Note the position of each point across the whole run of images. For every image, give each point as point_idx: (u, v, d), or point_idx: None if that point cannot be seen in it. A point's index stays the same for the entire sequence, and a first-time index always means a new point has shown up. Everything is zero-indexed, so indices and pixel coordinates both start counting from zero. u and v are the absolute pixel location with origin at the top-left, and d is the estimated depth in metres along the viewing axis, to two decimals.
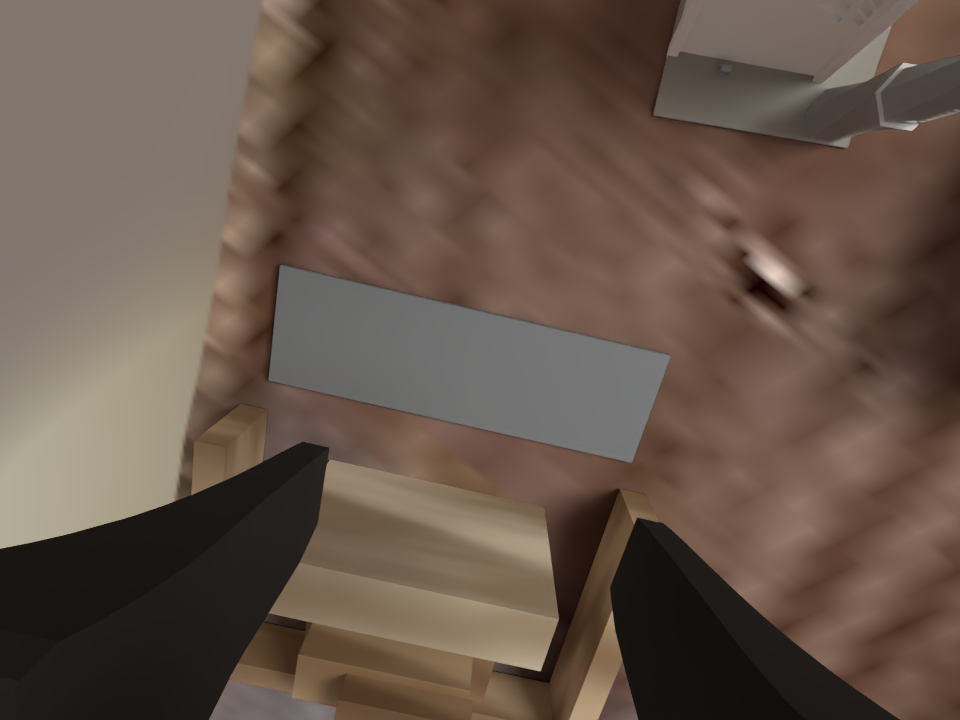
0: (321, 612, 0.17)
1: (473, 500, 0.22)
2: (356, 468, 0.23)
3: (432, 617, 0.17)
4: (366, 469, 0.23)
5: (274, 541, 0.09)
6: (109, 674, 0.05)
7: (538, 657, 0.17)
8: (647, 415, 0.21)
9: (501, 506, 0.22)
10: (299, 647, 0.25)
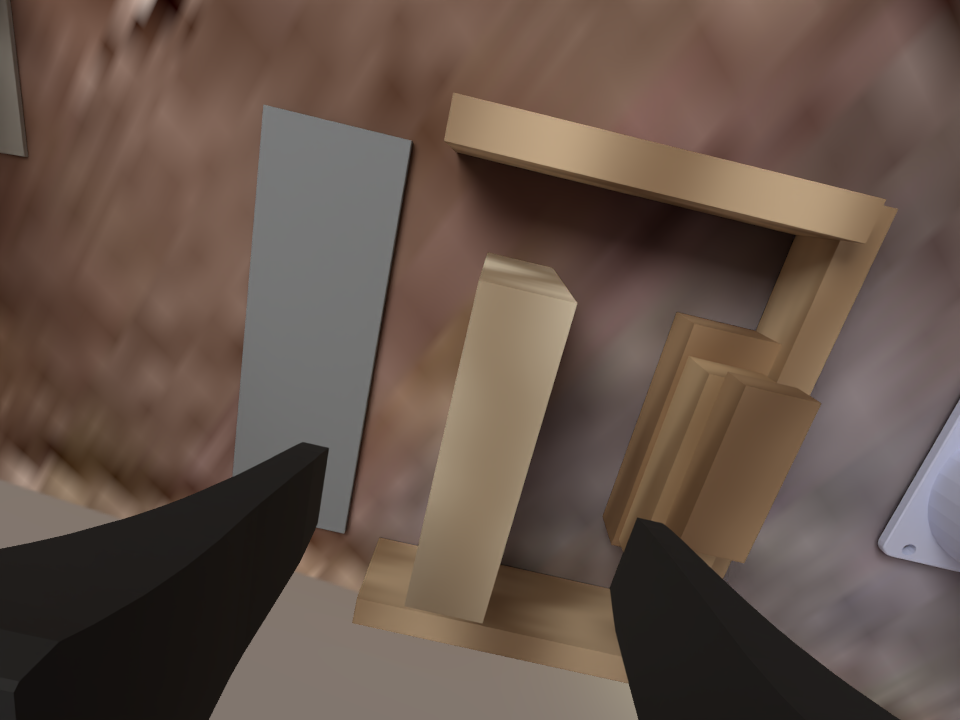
0: (481, 563, 0.14)
1: None
2: None
3: (484, 443, 0.13)
4: None
5: (274, 541, 0.09)
6: (109, 674, 0.05)
7: (550, 307, 0.12)
8: None
9: None
10: None
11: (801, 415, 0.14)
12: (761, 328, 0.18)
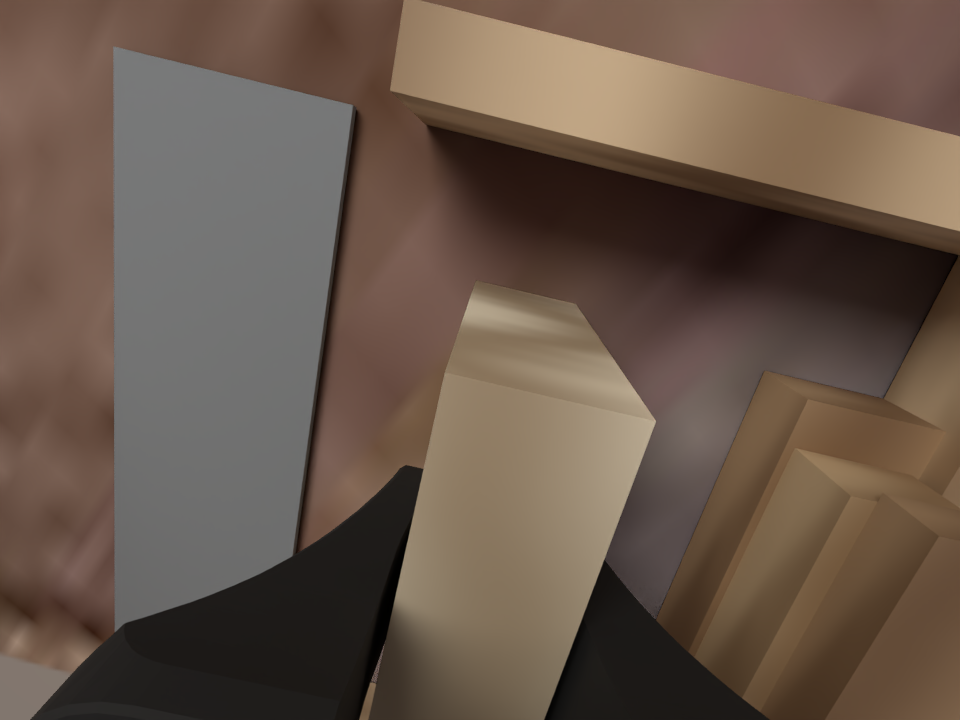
0: None
1: None
2: None
3: (461, 671, 0.07)
4: None
5: (400, 569, 0.09)
6: None
7: (597, 428, 0.06)
8: None
9: None
10: None
11: None
12: (897, 397, 0.12)
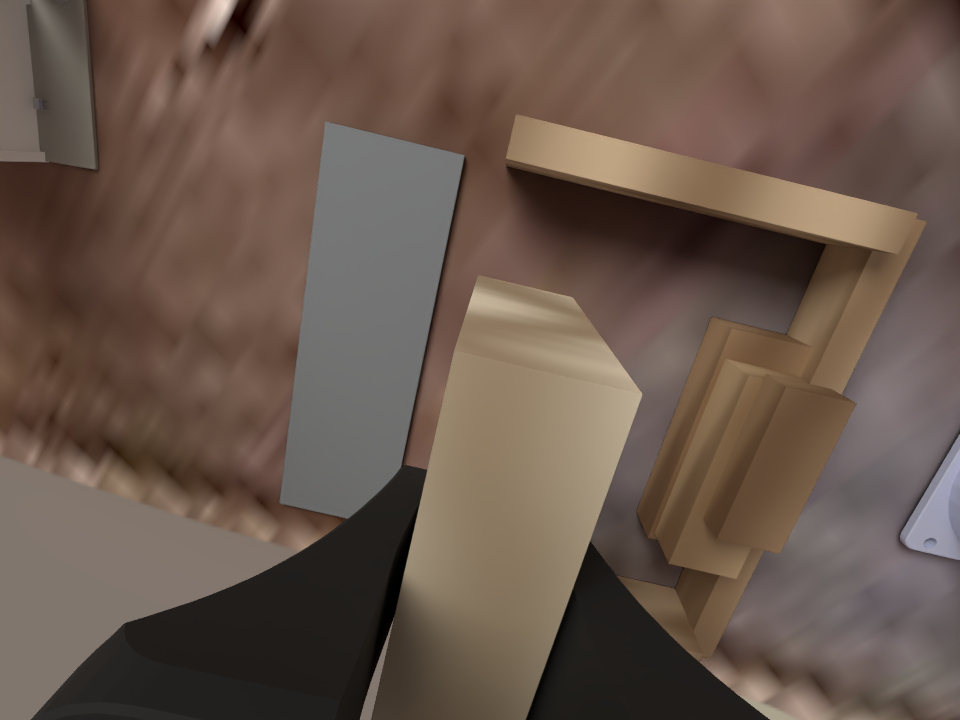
0: None
1: None
2: None
3: (467, 626, 0.07)
4: None
5: (400, 568, 0.09)
6: None
7: (590, 400, 0.06)
8: (402, 140, 0.18)
9: None
10: None
11: (837, 414, 0.15)
12: (792, 332, 0.19)
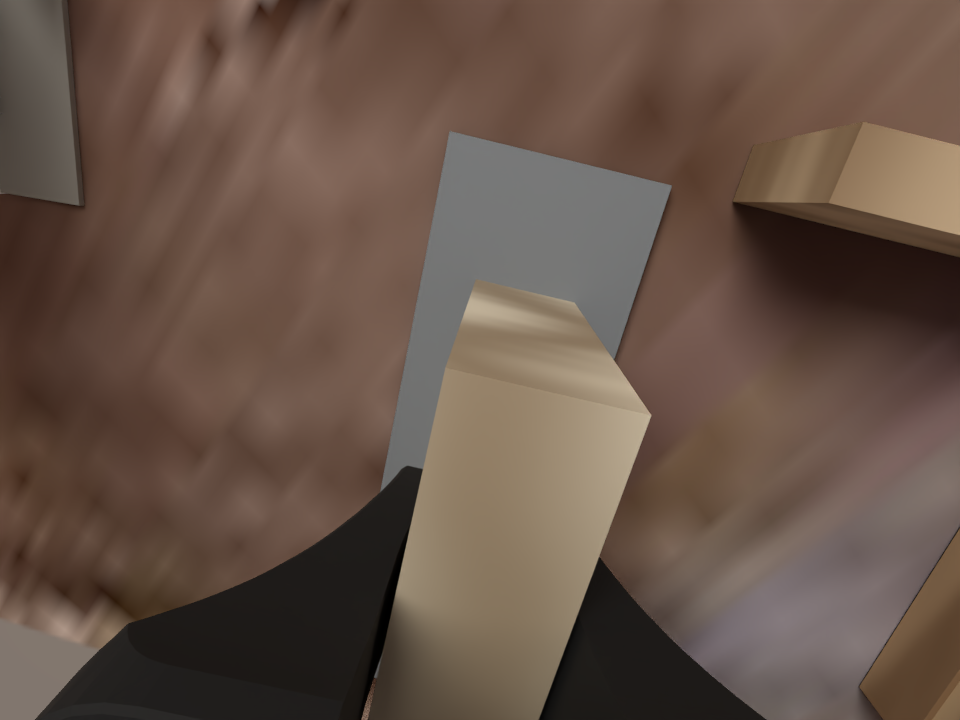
0: None
1: None
2: None
3: (461, 661, 0.07)
4: None
5: None
6: None
7: (594, 422, 0.06)
8: (571, 161, 0.11)
9: None
10: None
11: None
12: None
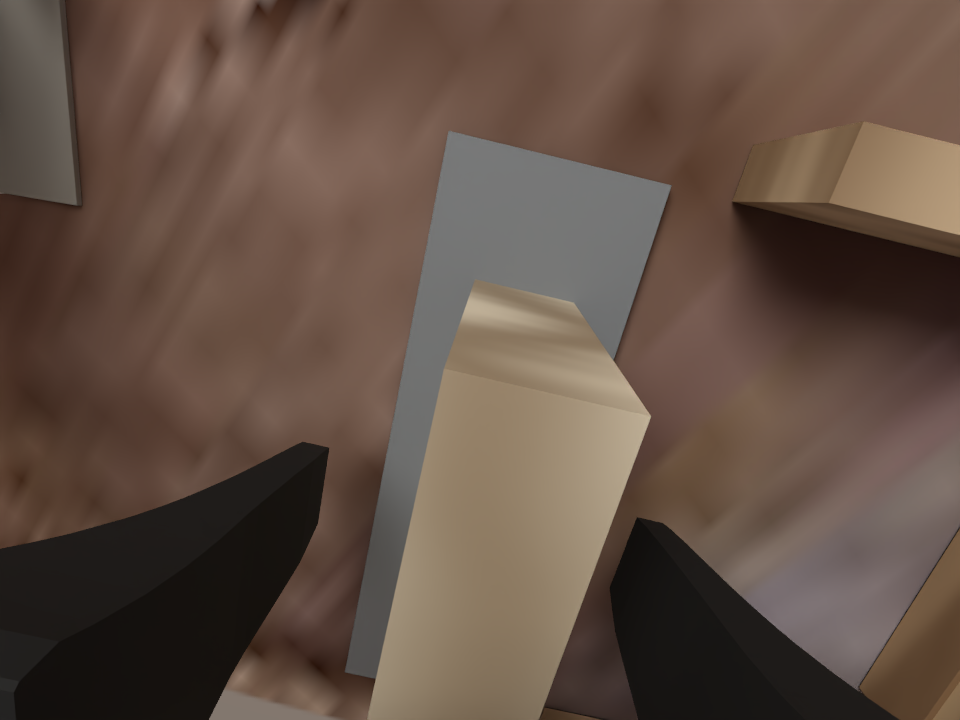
0: None
1: None
2: None
3: (460, 662, 0.07)
4: None
5: (274, 541, 0.09)
6: (109, 674, 0.05)
7: (593, 423, 0.06)
8: (571, 161, 0.11)
9: None
10: None
11: None
12: None
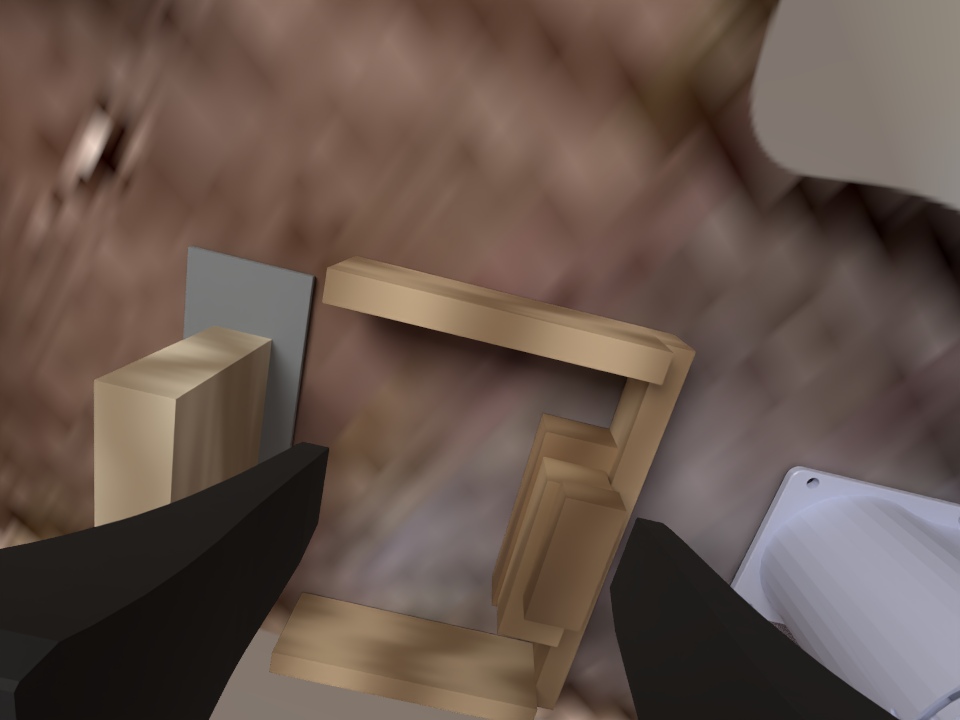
0: None
1: None
2: None
3: (128, 506, 0.16)
4: None
5: (274, 541, 0.09)
6: (109, 674, 0.05)
7: (155, 401, 0.15)
8: (258, 263, 0.20)
9: None
10: None
11: (612, 520, 0.18)
12: (612, 428, 0.21)
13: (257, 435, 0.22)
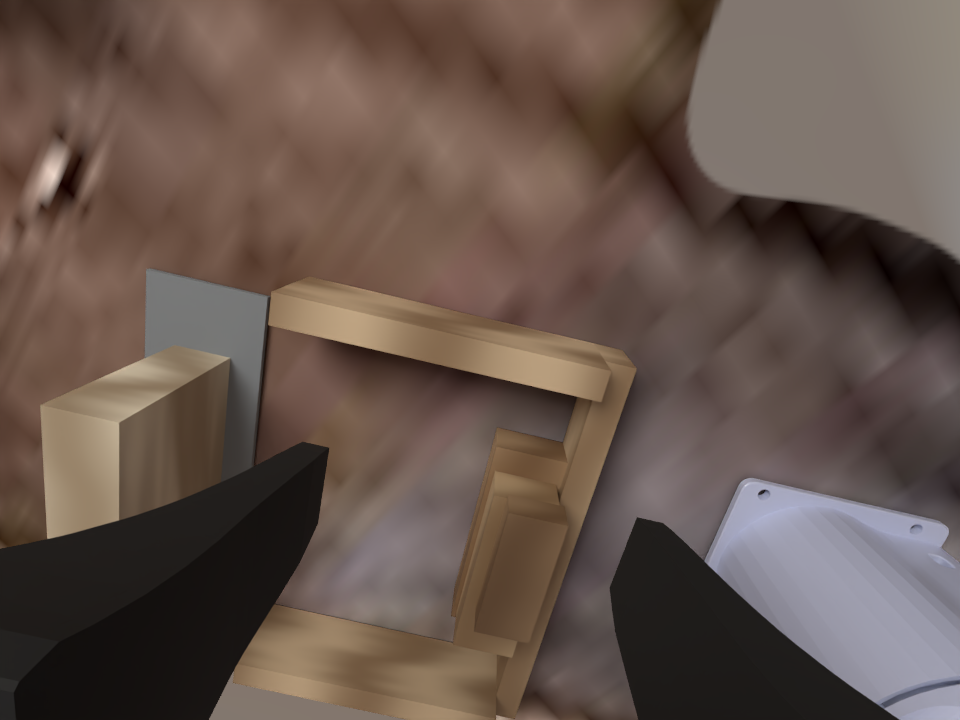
0: None
1: None
2: None
3: (79, 525, 0.16)
4: None
5: (274, 541, 0.09)
6: (109, 674, 0.05)
7: (99, 425, 0.15)
8: (214, 284, 0.20)
9: None
10: None
11: (554, 534, 0.18)
12: (564, 442, 0.22)
13: (219, 451, 0.22)
